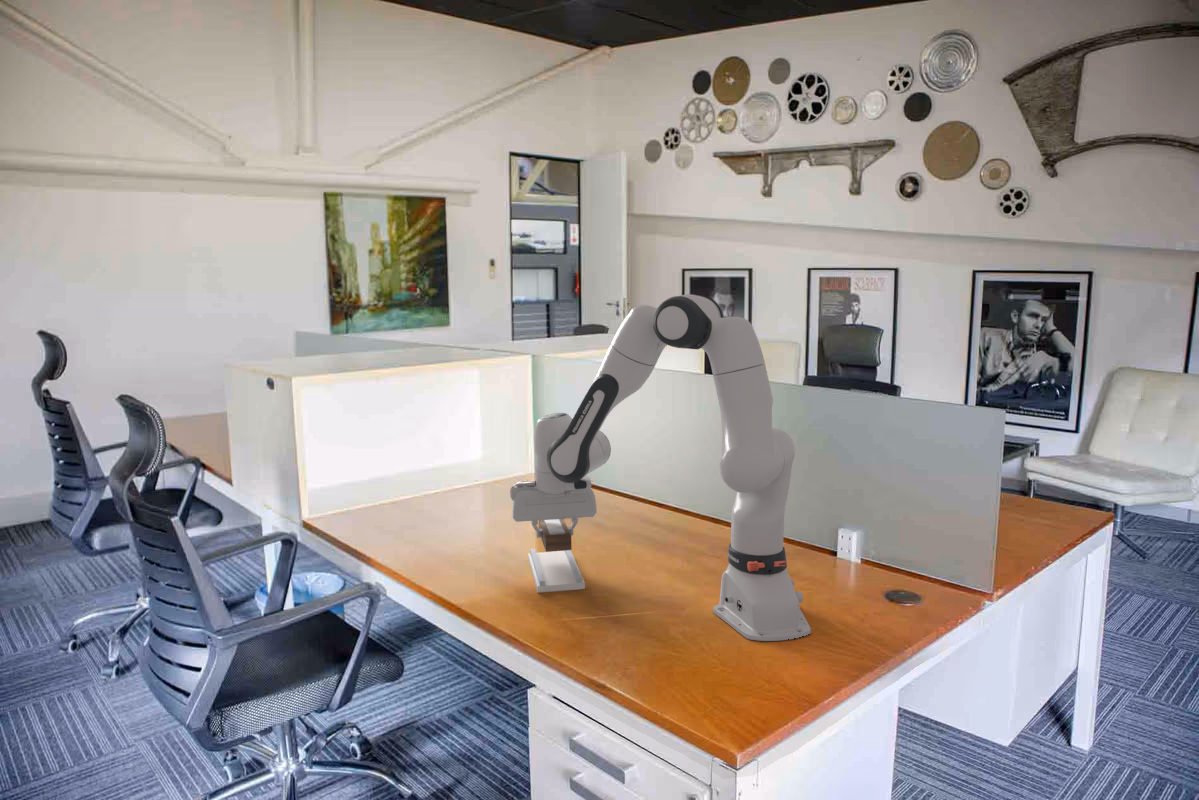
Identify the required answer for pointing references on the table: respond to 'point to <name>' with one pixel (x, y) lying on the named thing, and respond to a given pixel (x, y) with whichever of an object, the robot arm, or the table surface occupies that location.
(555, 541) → the picture frame
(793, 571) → the table surface
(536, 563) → the picture ledge
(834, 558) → the table surface
